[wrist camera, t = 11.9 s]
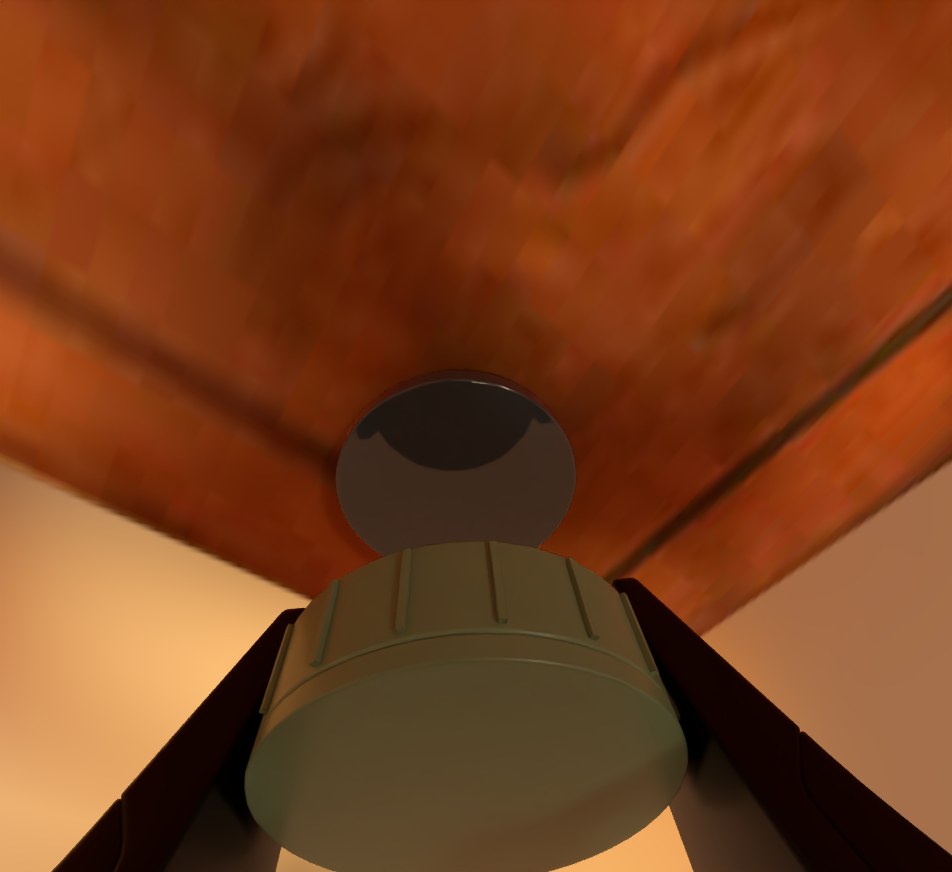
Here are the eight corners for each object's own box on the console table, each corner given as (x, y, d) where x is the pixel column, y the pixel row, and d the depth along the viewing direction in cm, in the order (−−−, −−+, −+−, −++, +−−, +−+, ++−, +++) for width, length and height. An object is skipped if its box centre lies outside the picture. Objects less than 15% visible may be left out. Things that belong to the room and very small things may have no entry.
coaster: (290, 432, 12) (284, 444, 12) (519, 325, 11) (523, 334, 11) (411, 587, 15) (410, 603, 15) (601, 515, 14) (607, 528, 14)
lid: (625, 749, 10) (661, 866, 8) (327, 779, 10) (304, 903, 8) (663, 519, 7) (733, 632, 5) (231, 557, 7) (164, 687, 5)
